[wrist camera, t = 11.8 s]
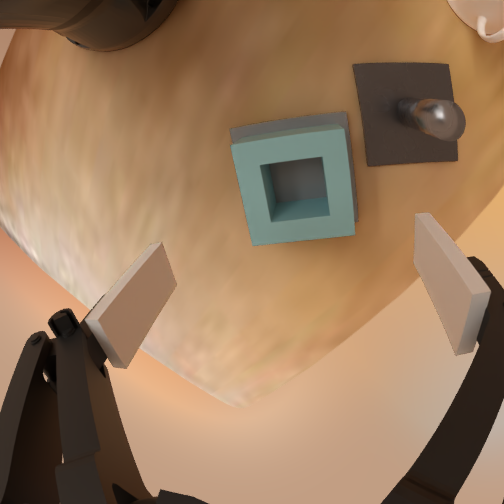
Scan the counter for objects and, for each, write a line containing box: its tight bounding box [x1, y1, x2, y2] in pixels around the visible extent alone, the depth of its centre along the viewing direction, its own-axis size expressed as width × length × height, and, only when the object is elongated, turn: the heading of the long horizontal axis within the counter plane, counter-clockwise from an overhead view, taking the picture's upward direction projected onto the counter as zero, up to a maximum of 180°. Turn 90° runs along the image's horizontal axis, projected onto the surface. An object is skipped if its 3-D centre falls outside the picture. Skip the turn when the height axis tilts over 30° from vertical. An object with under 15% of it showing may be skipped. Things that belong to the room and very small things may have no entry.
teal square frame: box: [230, 124, 355, 246], centre depth 27 cm, size 9×9×5 cm
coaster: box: [230, 111, 358, 222], centre depth 29 cm, size 11×11×1 cm
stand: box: [353, 63, 466, 166], centre depth 21 cm, size 10×10×9 cm
